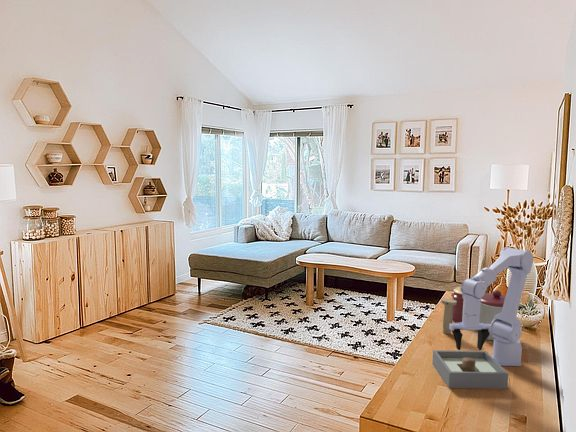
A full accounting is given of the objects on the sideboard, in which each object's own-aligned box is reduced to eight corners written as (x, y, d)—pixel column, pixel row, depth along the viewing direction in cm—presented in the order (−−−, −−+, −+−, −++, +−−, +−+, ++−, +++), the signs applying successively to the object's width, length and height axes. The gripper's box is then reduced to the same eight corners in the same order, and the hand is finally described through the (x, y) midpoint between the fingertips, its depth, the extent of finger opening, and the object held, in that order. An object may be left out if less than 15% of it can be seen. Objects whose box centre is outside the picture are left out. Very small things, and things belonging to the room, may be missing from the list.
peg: (470, 372, 170) (472, 357, 169) (476, 378, 166) (477, 362, 165) (459, 372, 170) (460, 357, 169) (464, 378, 165) (465, 362, 165)
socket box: (485, 364, 177) (486, 350, 176) (507, 388, 159) (508, 373, 158) (432, 364, 177) (433, 350, 176) (448, 387, 159) (449, 372, 158)
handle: (452, 336, 203) (454, 303, 201) (437, 332, 207) (439, 300, 205) (455, 333, 207) (458, 300, 205) (441, 329, 211) (443, 297, 209)
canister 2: (524, 346, 194) (528, 297, 191) (480, 345, 195) (484, 296, 192) (505, 329, 212) (508, 284, 209) (465, 328, 212) (468, 284, 210)
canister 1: (443, 317, 228) (446, 281, 225) (464, 313, 233) (466, 279, 230) (463, 326, 216) (466, 289, 213) (484, 322, 221) (487, 286, 218)
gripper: (486, 309, 170) (484, 344, 172) (447, 308, 170) (445, 344, 172) (495, 316, 163) (492, 352, 165) (454, 315, 163) (451, 352, 165)
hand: (468, 349), depth 168 cm, fingers open, 7 cm apart
